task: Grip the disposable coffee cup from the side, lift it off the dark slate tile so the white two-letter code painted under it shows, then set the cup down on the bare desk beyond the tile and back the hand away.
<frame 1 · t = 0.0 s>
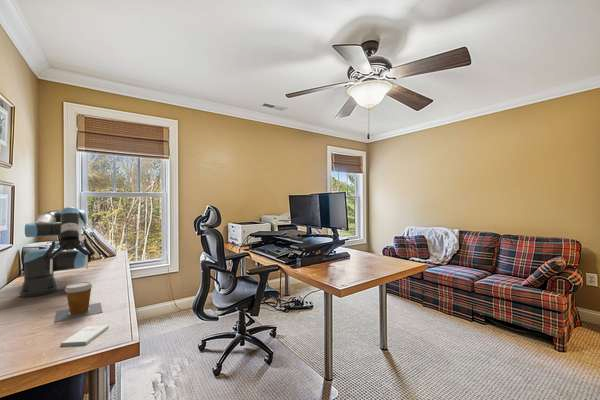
hand: (69, 270, 135), 15 cm above the table, tool tilted 35°, fingers open, 13 cm apart
code tile: (79, 312, 121), on the table
external hard drive: (86, 338, 98), on the table
disposable coffee cup: (79, 312, 121), resting on code tile
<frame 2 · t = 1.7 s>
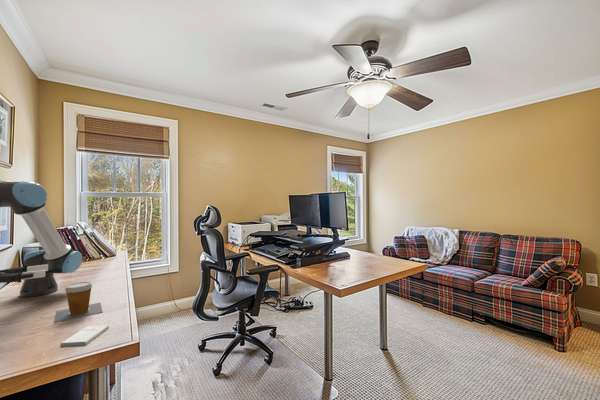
hand: (46, 270, 114), 20 cm above the table, tool horizontal, fingers open, 13 cm apart
nothing on the table moved.
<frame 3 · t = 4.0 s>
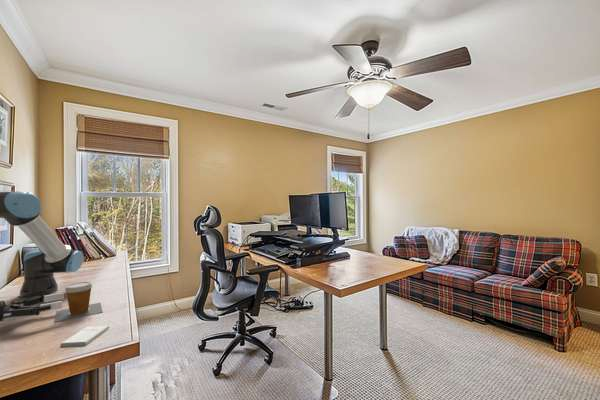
hand: (63, 299, 117), 7 cm above the table, tool horizontal, fingers open, 13 cm apart
nothing on the table moved.
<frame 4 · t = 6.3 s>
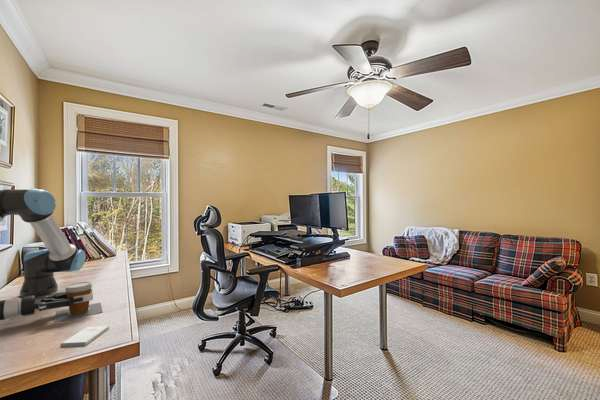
hand: (92, 294, 124), 7 cm above the table, tool horizontal, fingers closed on disposable coffee cup, 8 cm apart
disposable coffee cup: (79, 312, 121), resting on code tile, touching gripper
everything else where it was.
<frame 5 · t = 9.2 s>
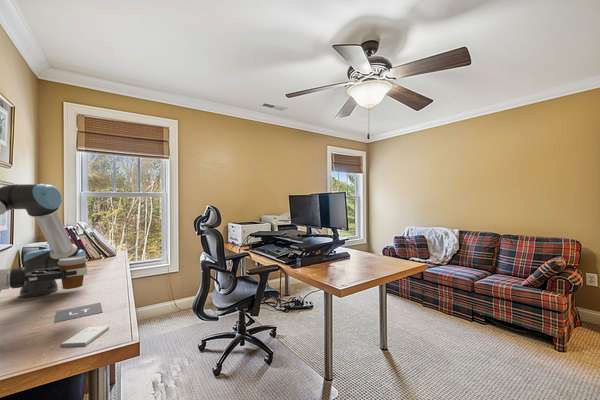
hand: (86, 268, 117), 20 cm above the table, tool horizontal, fingers closed on disposable coffee cup, 8 cm apart
disposable coffee cup: (72, 287, 114), point 13 cm above the table, touching gripper
everything else where it was.
when the fingers open (8 cm above the table, at t = 12.2 s): disposable coffee cup drops 1 cm, on the table.
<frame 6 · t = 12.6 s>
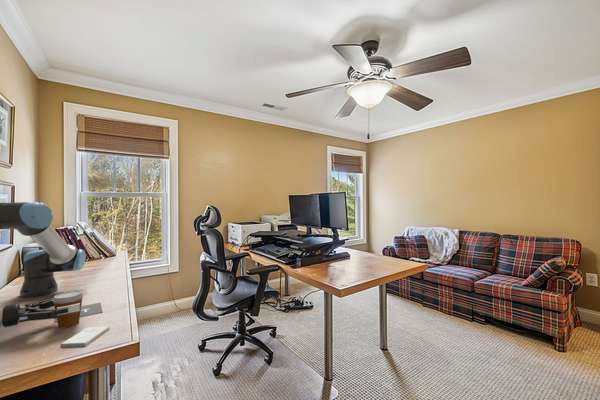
hand: (79, 302, 111), 8 cm above the table, tool horizontal, fingers open, 13 cm apart
disposable coffee cup: (68, 325, 108), on the table
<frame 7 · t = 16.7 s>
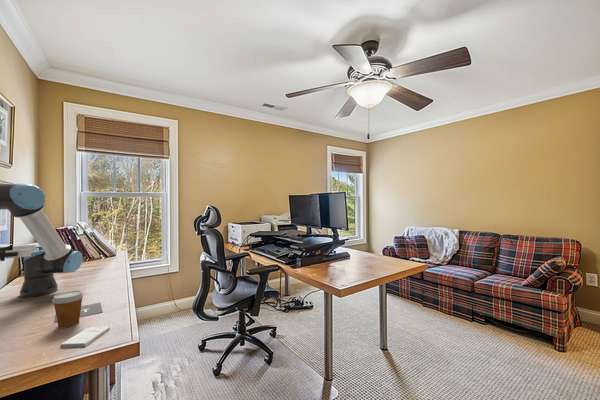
hand: (33, 250, 107), 30 cm above the table, tool horizontal, fingers open, 13 cm apart
at the end: disposable coffee cup inside the target area (0.2 cm from its centre), on the table; disposable coffee cup tilted 0°; disposable coffee cup touching table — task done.
